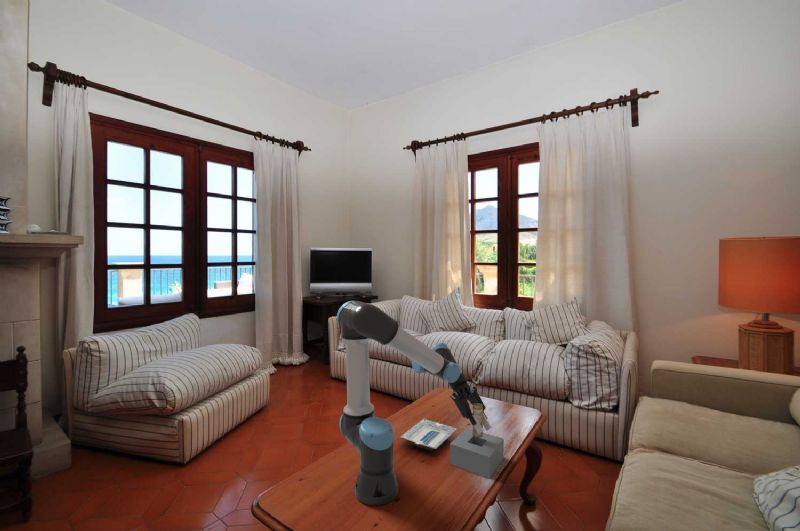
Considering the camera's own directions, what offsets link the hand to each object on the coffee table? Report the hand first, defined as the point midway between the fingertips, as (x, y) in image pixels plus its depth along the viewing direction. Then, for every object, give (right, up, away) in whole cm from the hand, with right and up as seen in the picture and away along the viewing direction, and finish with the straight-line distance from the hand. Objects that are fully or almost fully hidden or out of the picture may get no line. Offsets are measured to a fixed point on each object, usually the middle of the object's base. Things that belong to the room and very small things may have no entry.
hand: (485, 430), depth 136 cm
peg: (-2, -3, +3) cm, 5 cm away
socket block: (-2, -14, +3) cm, 14 cm away
